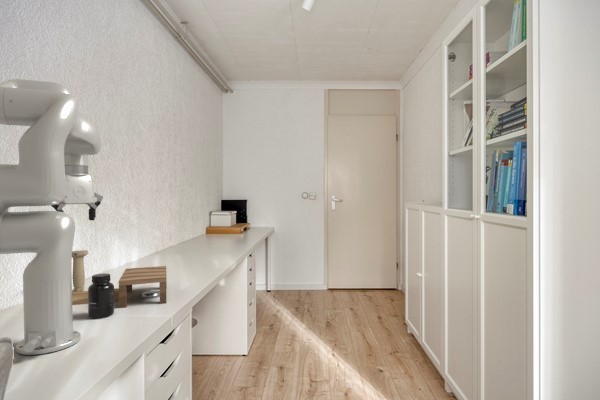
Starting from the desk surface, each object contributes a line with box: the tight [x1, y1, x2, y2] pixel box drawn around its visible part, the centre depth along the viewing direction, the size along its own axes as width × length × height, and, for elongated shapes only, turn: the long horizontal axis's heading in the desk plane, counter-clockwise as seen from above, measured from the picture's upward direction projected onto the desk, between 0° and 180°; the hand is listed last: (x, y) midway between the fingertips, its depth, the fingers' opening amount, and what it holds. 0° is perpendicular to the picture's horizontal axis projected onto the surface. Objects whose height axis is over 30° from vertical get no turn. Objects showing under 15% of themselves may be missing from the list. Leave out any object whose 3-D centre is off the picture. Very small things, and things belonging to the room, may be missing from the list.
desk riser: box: [118, 265, 168, 309], centre depth 128 cm, size 22×14×8 cm, turn 20°
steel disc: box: [141, 290, 160, 300], centre depth 129 cm, size 6×6×2 cm
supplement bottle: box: [87, 273, 115, 319], centre depth 109 cm, size 7×7×12 cm
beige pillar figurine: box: [72, 249, 89, 292], centre depth 138 cm, size 5×6×15 cm
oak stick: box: [72, 287, 127, 306], centre depth 122 cm, size 2×24×4 cm, turn 107°
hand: (76, 221), depth 127 cm, fingers open, 9 cm apart
